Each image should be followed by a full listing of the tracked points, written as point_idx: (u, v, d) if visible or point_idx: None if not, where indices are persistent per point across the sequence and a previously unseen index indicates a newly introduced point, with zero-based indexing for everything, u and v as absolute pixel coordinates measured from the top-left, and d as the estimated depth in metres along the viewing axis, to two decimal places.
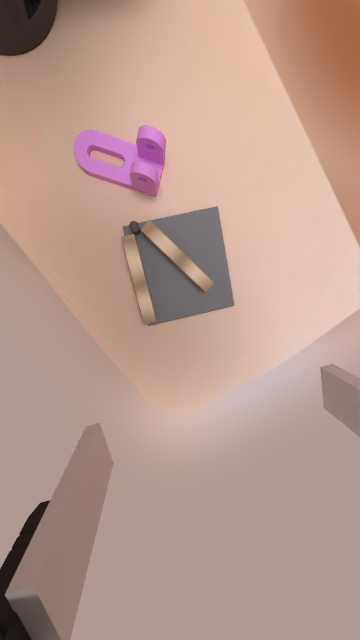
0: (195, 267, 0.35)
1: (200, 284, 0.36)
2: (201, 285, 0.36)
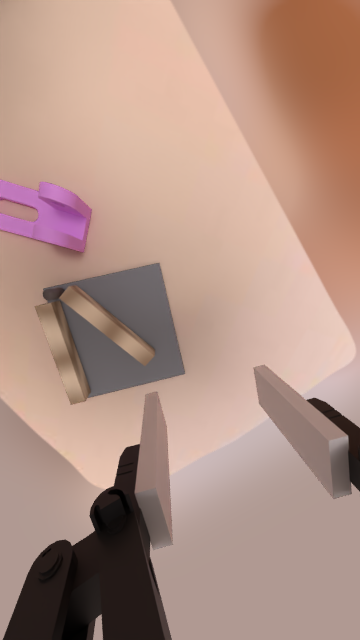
0: (130, 338, 0.29)
1: (137, 357, 0.30)
2: (138, 358, 0.30)
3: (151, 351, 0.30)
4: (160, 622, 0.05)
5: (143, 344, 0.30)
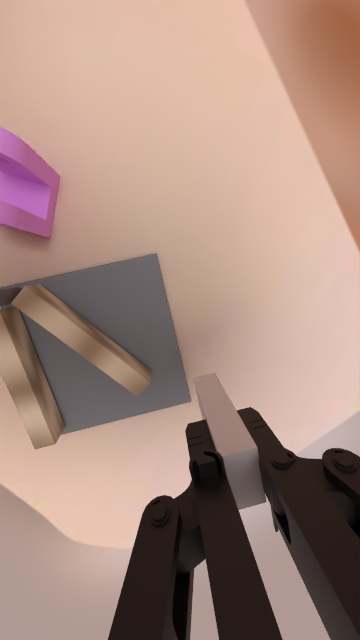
0: (116, 359, 0.21)
1: (126, 385, 0.21)
2: (128, 386, 0.22)
3: (146, 375, 0.22)
4: (260, 578, 0.05)
5: (135, 366, 0.22)
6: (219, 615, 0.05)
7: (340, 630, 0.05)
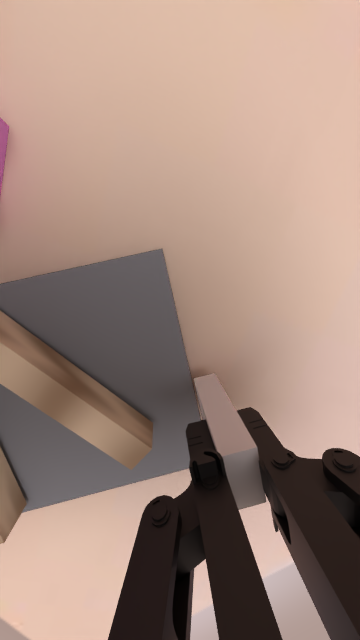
0: (98, 416, 0.13)
1: (114, 454, 0.14)
2: (117, 456, 0.14)
3: (145, 436, 0.14)
4: (260, 578, 0.05)
5: (128, 422, 0.14)
6: (219, 615, 0.05)
7: (340, 630, 0.05)
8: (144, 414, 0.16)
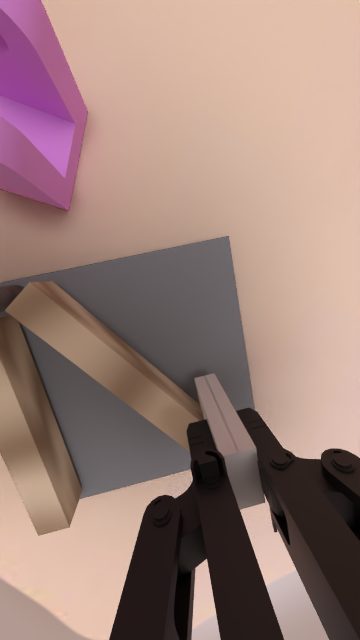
0: (169, 401, 0.13)
1: (181, 440, 0.14)
2: (183, 442, 0.14)
3: None
4: (262, 578, 0.05)
5: (192, 409, 0.14)
6: (220, 614, 0.05)
7: (339, 630, 0.05)
8: None
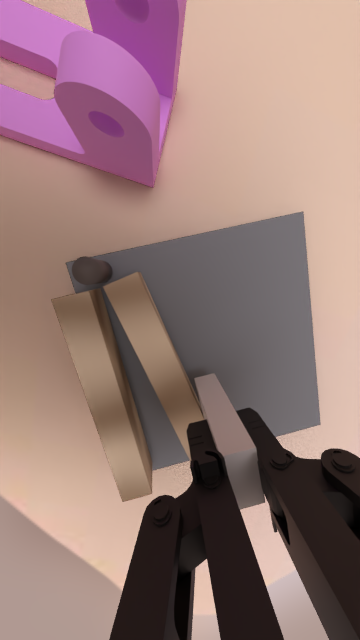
0: (200, 420, 0.14)
1: None
2: None
3: None
4: (262, 578, 0.05)
5: None
6: (220, 614, 0.05)
7: (339, 630, 0.05)
8: (267, 376, 0.17)
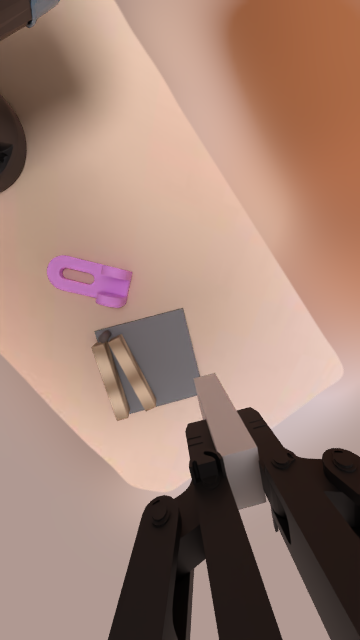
0: (144, 388, 0.38)
1: (143, 403, 0.39)
2: (143, 404, 0.39)
3: (154, 401, 0.39)
4: (260, 578, 0.05)
5: (151, 394, 0.39)
6: (219, 615, 0.05)
7: (340, 630, 0.05)
8: (176, 372, 0.41)
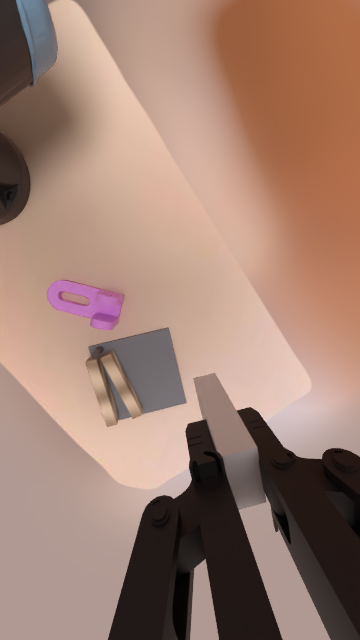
0: (132, 398, 0.43)
1: (130, 411, 0.43)
2: (131, 412, 0.43)
3: (141, 410, 0.44)
4: (260, 578, 0.05)
5: (138, 404, 0.44)
6: (219, 615, 0.05)
7: (340, 630, 0.05)
8: (161, 383, 0.46)
